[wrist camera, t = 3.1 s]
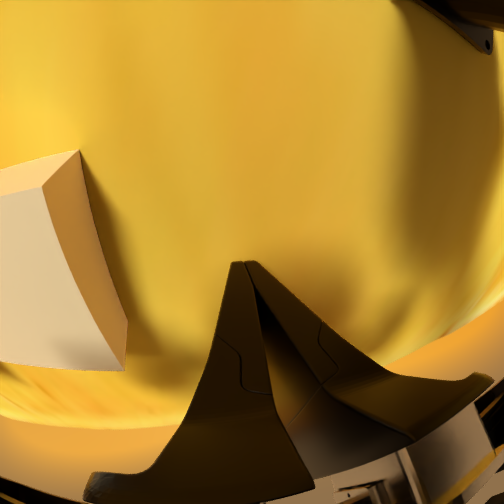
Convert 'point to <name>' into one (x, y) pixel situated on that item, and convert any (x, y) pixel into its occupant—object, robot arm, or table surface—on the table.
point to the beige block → (55, 272)
